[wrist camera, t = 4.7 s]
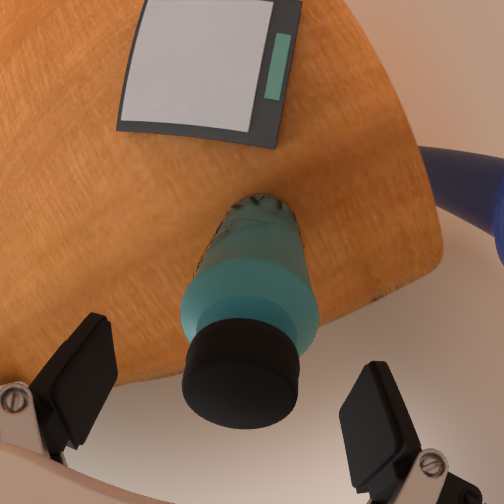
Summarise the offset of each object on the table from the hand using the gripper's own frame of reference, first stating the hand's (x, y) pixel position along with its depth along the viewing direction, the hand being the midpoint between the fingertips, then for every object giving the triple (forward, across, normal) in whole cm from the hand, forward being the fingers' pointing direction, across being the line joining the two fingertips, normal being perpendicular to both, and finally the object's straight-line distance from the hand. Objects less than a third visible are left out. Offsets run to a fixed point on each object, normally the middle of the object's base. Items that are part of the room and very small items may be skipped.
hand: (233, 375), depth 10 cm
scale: (+19, +6, -14) cm, 24 cm away
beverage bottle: (+19, -1, 0) cm, 19 cm away
